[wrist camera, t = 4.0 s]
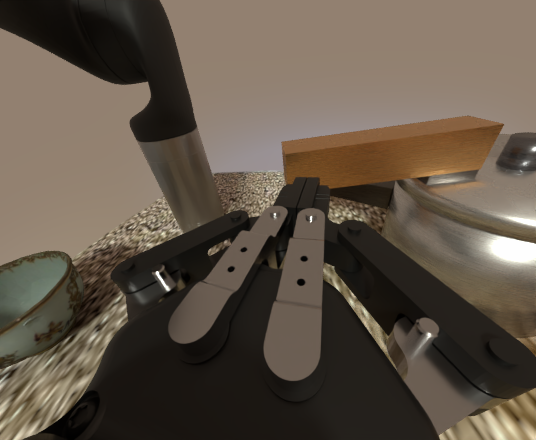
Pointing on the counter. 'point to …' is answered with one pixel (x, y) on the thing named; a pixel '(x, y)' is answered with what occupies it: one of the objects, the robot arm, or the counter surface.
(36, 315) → the bowl
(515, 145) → the lid
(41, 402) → the counter surface
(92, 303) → the counter surface
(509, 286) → the pot
